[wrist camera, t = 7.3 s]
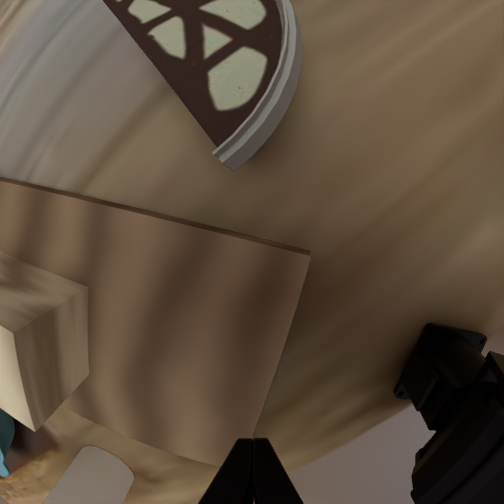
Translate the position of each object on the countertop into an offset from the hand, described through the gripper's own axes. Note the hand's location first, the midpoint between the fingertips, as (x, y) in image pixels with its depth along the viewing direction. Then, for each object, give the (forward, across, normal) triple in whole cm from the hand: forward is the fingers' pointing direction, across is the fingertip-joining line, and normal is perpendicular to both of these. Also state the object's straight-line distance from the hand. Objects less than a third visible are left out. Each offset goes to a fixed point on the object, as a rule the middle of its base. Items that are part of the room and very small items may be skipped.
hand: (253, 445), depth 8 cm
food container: (+15, +1, -13) cm, 20 cm away
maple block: (+13, +19, +3) cm, 23 cm away
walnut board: (+14, +13, +4) cm, 20 cm away
